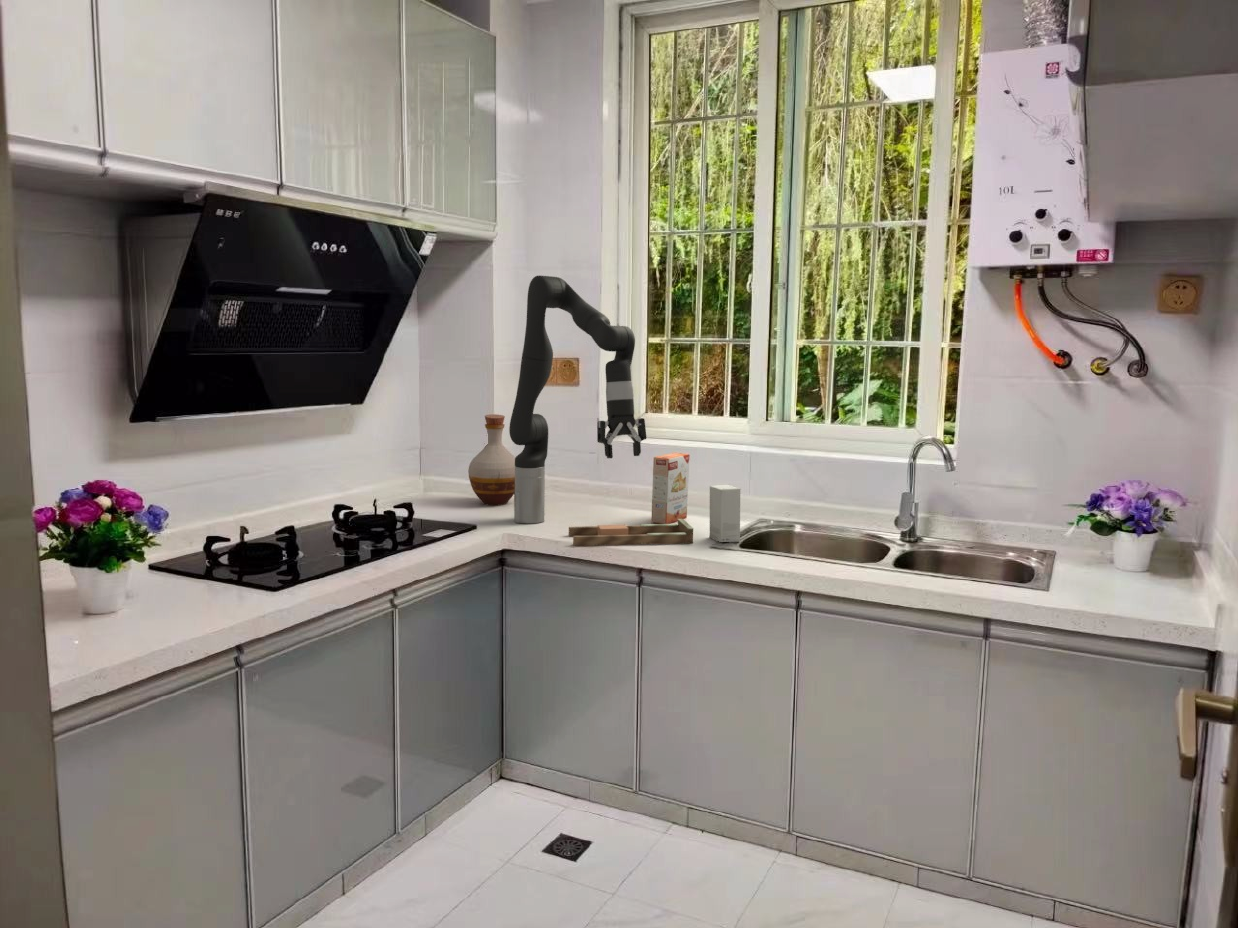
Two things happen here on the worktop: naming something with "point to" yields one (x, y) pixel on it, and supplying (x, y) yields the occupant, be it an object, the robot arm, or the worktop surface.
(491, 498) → the jug
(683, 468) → the cracker box
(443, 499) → the worktop surface
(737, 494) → the skincare box
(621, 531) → the terracotta block
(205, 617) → the worktop surface
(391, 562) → the worktop surface
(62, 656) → the worktop surface
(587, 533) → the track
